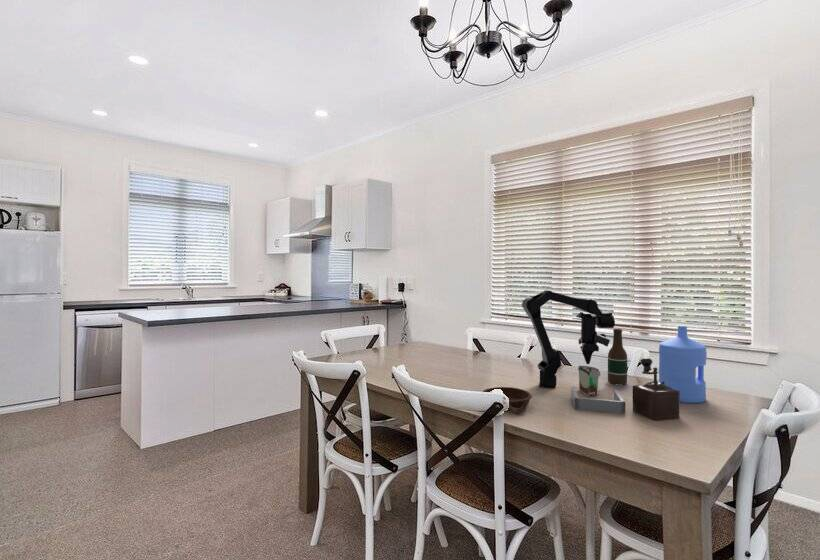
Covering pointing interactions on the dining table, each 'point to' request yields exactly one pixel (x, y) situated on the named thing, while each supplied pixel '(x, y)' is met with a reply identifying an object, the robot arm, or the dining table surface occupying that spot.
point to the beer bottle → (617, 360)
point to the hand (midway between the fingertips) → (587, 364)
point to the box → (599, 403)
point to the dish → (515, 398)
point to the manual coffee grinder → (655, 397)
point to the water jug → (683, 366)
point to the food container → (588, 380)
